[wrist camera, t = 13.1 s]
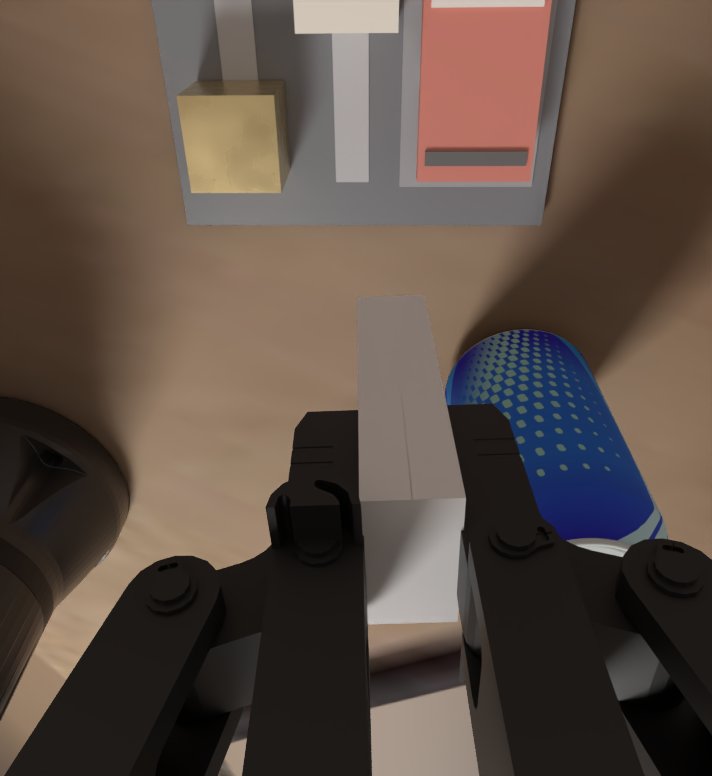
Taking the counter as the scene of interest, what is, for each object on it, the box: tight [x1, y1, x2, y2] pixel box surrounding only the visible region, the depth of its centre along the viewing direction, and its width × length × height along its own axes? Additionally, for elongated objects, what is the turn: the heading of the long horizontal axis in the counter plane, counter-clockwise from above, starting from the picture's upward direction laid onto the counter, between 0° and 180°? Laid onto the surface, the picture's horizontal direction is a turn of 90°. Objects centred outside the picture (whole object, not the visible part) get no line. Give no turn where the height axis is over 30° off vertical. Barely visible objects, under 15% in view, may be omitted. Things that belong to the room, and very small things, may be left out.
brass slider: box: [177, 80, 290, 193], centre depth 29 cm, size 4×4×4 cm
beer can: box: [445, 329, 668, 557], centre depth 33 cm, size 8×8×16 cm
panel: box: [151, 0, 576, 225], centre depth 29 cm, size 18×14×2 cm
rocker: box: [416, 0, 552, 182], centre depth 27 cm, size 5×8×1 cm, turn 1°
